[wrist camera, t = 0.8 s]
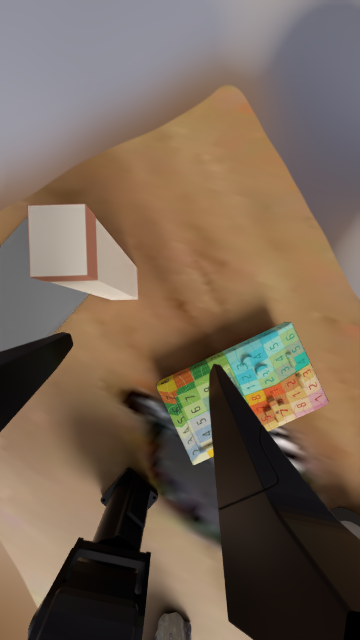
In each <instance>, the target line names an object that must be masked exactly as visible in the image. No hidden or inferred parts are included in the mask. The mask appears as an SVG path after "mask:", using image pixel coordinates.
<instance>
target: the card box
mask: <svg viewBox="0 0 360 640" xmlns="http://www.w3.org/2000/svg"><path fill="white" fill-rule="evenodd" d="M27 209H28V237H29V265H30V278H34V279H38V280H41V281H45V282H51V283H55V284H58V285H62V286H65V287H68V288H72V289H75V290H79V291H82V292H86V293H89V294H93V295H96V296H100V297H103V298H107V299H110V300H133V299H138V287H137V267H136V266H135V265H134V263H133V262H132V261H131V260H130V259H129V257H128V256H127V255H126V254H125V253H124V251H123V250H122V249H121V248H120V246H119V245H118V244H117V243H116V242H115V240H114V239H113V238H112V237H111V236H110V234H109V233H108V232H107V231H106V229H105V228H104V227H103V226H102V225H101V223H100V222H99V221H98V220H97V219H96V216H95V215H94V213H93V212H92V211H91V210H90V209H89V207H88V206H87V205H86V204H52V205H27Z"/></svg>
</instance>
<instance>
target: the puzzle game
mask: <svg viewBox="0 0 360 640" xmlns="http://www.w3.org/2000/svg"><path fill="white" fill-rule="evenodd" d="M213 364H219V365H221V366H222V368H223V369H224V370H225V372H226V373H227V375H228V376H229V377H230V379H231V380H232V382H233V383H234V385H235V386H236V387H237V389H238V390H239V392H240V393H241V395H242V396H243V397H244V399H245V400H246V402H247V403H248V404H249V406H250V407H251V409H252V410H253V412H254V413H255V414H256V416H257V417H258V419H259V420H260V421H261V424H263V426H264V427H265V428H266V430H267V431H270V430H272V429H274V428H276V427H279V426H281V425H283V424H285V423H287V422H290V421H292V420H294V419H296V418H298V417H301V416H303V415H305V414H307V413H309V412H312V411H314V410H316V409H318V408H320V407H323V406H325V405H326V404H327V403H328V402H329V401H328V399H327V397H326V395H325V393H324V391H323V389H322V386H321V384H320V382H319V380H318V378H317V376H316V374H315V371H314V369H313V367H312V365H311V363H310V361H309V359H308V356H307V354H306V352H305V350H304V348H303V346H302V343H301V341H300V339H299V337H298V335H297V333H296V331H295V328H294V326H293V324H292V322H284V323H282V324H280V325H277V326H275V327H273V328H271V329H269V330H267V331H265V332H263V333H260V334H258V335H256V336H254V337H252V338H250V339H248V340H246V341H243V342H241V343H239V344H237V345H235V346H233V347H231V348H228V349H226V350H224V351H222V352H220V353H218V354H216V355H214V356H211V357H209V358H207V359H205V360H203V361H201V362H199V363H197V364H194V365H192V366H190V367H188V368H186V369H184V370H182V371H179V372H177V373H175V374H173V375H171V376H169V377H167V378H165V379H162V380H160V381H159V382H157V384H156V387H157V389H158V391H159V394H160V396H161V398H162V400H163V402H164V404H165V406H166V408H167V411H168V413H169V415H170V417H171V419H172V421H173V423H174V426H175V428H176V430H177V432H178V434H179V436H180V438H181V440H182V443H183V445H184V447H185V449H186V451H187V453H188V455H189V457H190V460H191V462H192V464H193V465H195V464H197V463H200V462H202V461H204V460H206V459H208V458H211V457H213V456H214V454H213V443H212V432H211V420H210V409H209V374H210V371H211V368H212V366H213Z"/></svg>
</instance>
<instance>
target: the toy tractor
mask: <svg viewBox="0 0 360 640" xmlns="http://www.w3.org/2000/svg"><path fill="white" fill-rule="evenodd" d="M330 511H331V512H332V513H333V514H334V516H335V517H336V518H337V519H338V520H339V521H340V522H341V523H342V524H343V525H344V526H345V527H347V528H348V529H349V530H350V531H351V532H352V533H353V534H354V535H355V536H357V537H358V538H359V539H360V516H359V515H357V514H355V512H353V511H351V510H346V509H344V508H342V507H340V508H334V509H331V510H330Z"/></svg>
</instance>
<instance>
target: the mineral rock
mask: <svg viewBox="0 0 360 640" xmlns="http://www.w3.org/2000/svg"><path fill="white" fill-rule="evenodd" d="M154 640H191V624H190V623H189V622H185V621H184V620H183V619H182V617H181V616H180V614H178V613H177V612H174V613H170V614H166V613H164V614H163V615H162V616H161V618H160V619H159V622H158V631H156V634H155V636H154Z"/></svg>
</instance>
